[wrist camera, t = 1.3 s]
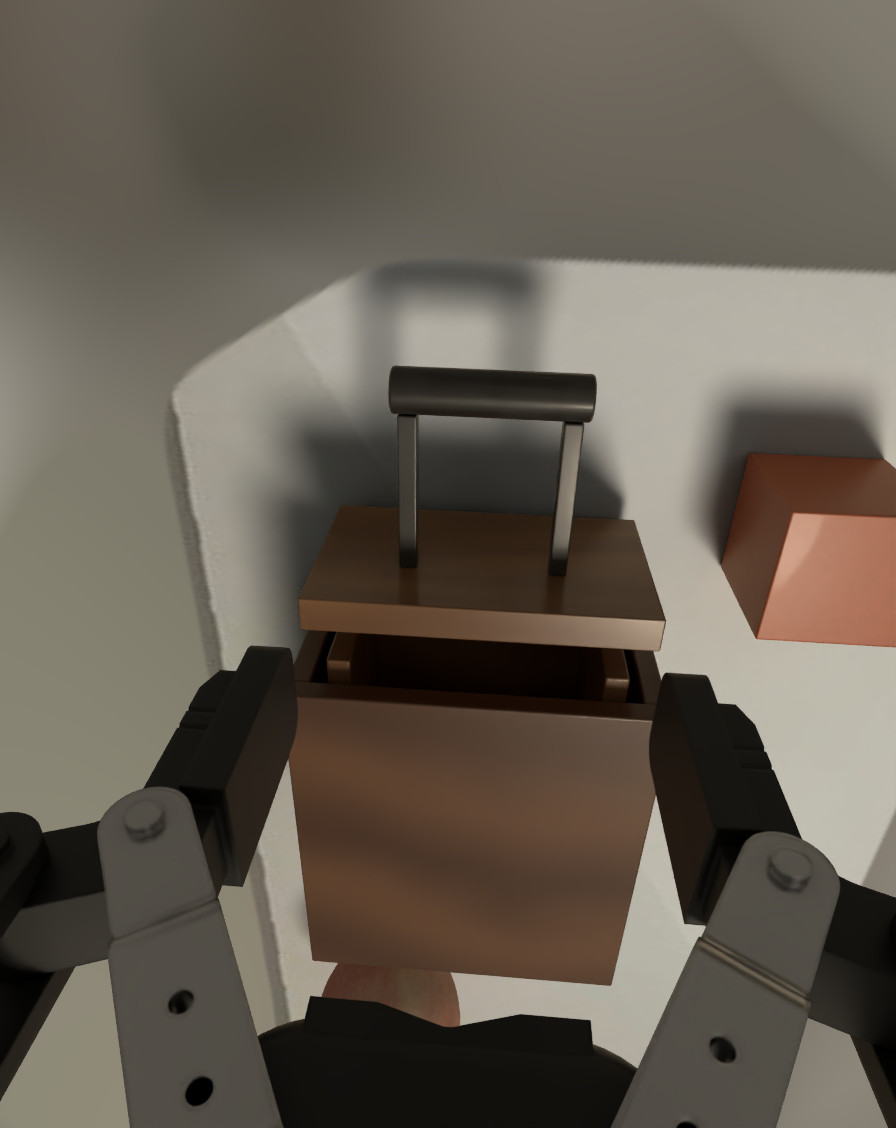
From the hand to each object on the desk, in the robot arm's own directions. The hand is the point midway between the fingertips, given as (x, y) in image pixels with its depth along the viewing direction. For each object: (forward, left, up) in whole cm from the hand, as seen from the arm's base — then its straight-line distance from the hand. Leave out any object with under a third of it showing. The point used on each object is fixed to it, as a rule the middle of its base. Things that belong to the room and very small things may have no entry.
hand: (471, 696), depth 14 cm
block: (+10, +8, -16) cm, 20 cm away
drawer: (+6, -4, -15) cm, 16 cm away
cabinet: (+12, -8, -16) cm, 21 cm away
